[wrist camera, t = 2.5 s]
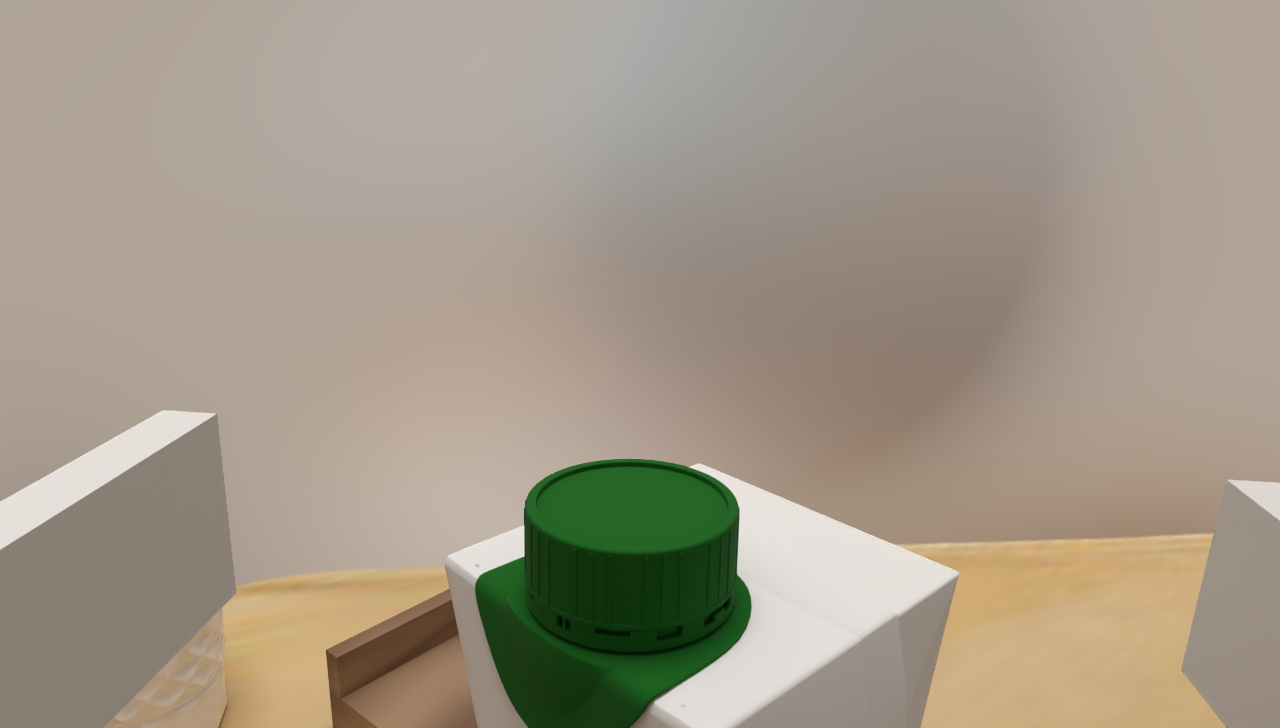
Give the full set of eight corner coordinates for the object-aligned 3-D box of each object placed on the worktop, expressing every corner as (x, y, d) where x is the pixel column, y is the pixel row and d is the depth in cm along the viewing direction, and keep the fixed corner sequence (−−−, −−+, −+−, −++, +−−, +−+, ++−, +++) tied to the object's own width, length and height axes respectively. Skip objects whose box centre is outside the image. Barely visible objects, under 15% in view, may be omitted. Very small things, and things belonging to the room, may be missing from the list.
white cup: (269, 673, 44) (247, 482, 41) (186, 797, 36) (152, 573, 33) (107, 667, 44) (73, 476, 41) (-10, 789, 36) (-62, 565, 33)
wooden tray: (784, 721, 41) (791, 635, 40) (566, 929, 31) (566, 822, 29) (562, 606, 50) (562, 532, 48) (334, 739, 39) (325, 650, 38)
